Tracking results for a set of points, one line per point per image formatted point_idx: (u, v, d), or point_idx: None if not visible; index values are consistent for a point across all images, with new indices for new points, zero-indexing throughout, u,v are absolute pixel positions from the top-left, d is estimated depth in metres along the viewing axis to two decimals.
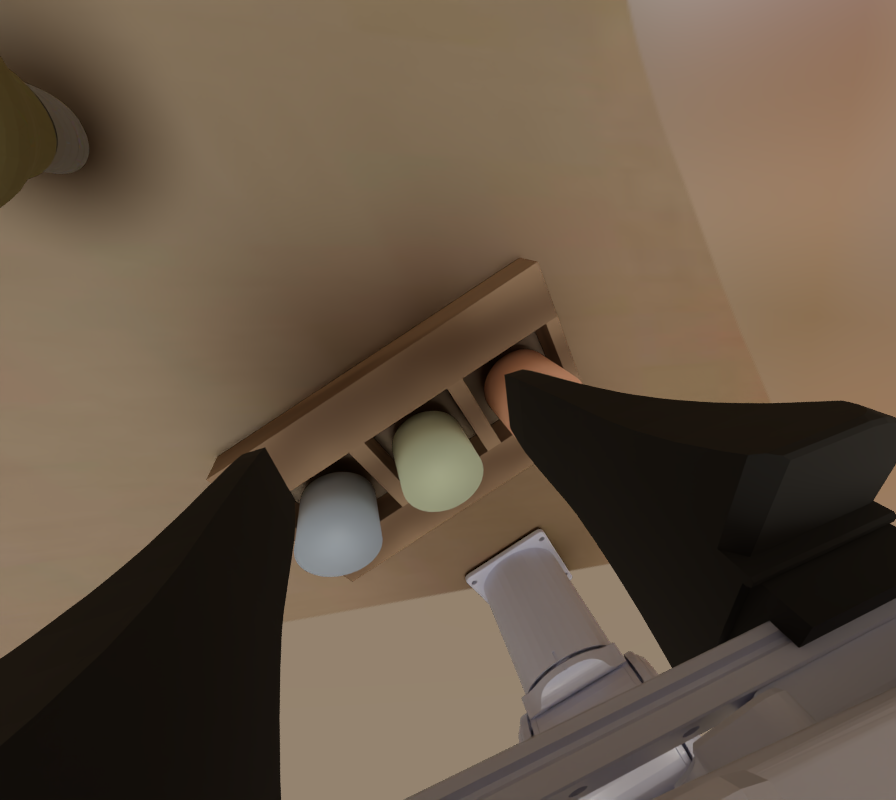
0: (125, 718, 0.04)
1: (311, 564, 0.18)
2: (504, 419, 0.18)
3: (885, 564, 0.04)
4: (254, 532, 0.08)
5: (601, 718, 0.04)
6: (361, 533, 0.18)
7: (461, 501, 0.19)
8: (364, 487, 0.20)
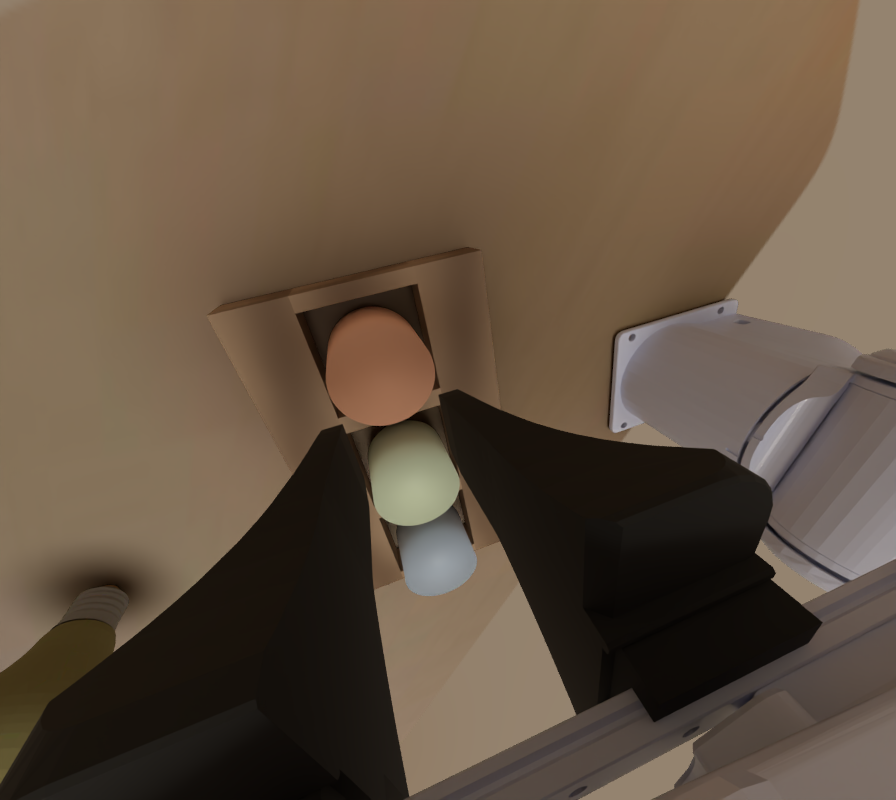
0: (317, 641, 0.04)
1: (446, 587, 0.21)
2: None
3: (753, 629, 0.04)
4: (348, 500, 0.08)
5: (601, 718, 0.04)
6: (437, 556, 0.20)
7: (455, 479, 0.18)
8: None
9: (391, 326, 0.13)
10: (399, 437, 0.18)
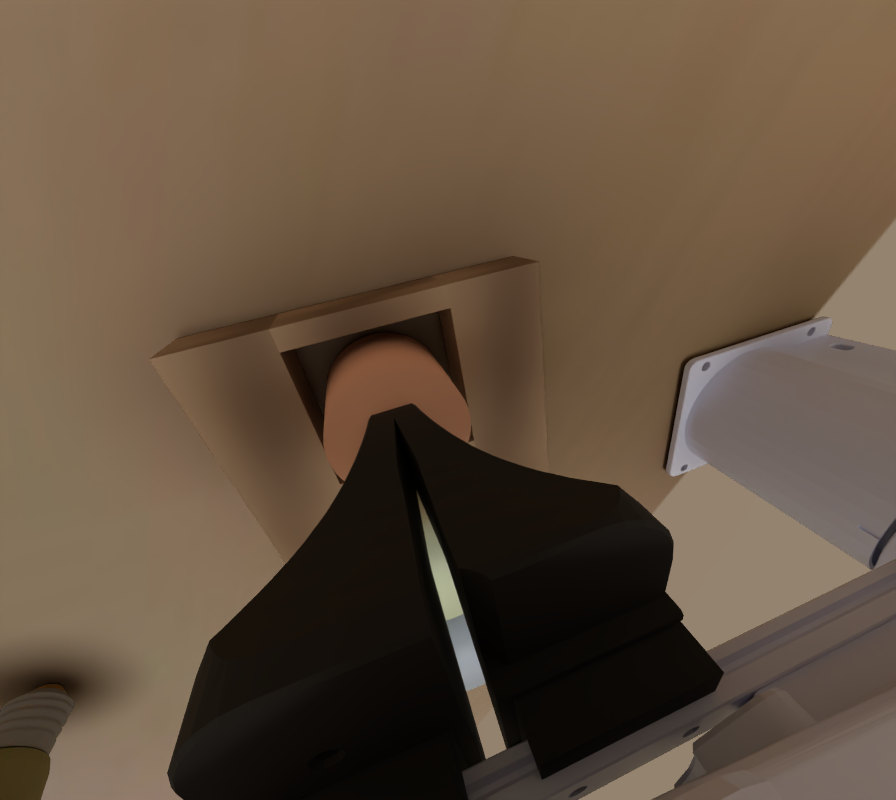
0: (430, 596, 0.04)
1: (475, 682, 0.17)
2: None
3: (652, 678, 0.04)
4: (407, 480, 0.08)
5: None
6: (467, 652, 0.15)
7: None
8: None
9: (415, 368, 0.10)
10: (421, 507, 0.14)
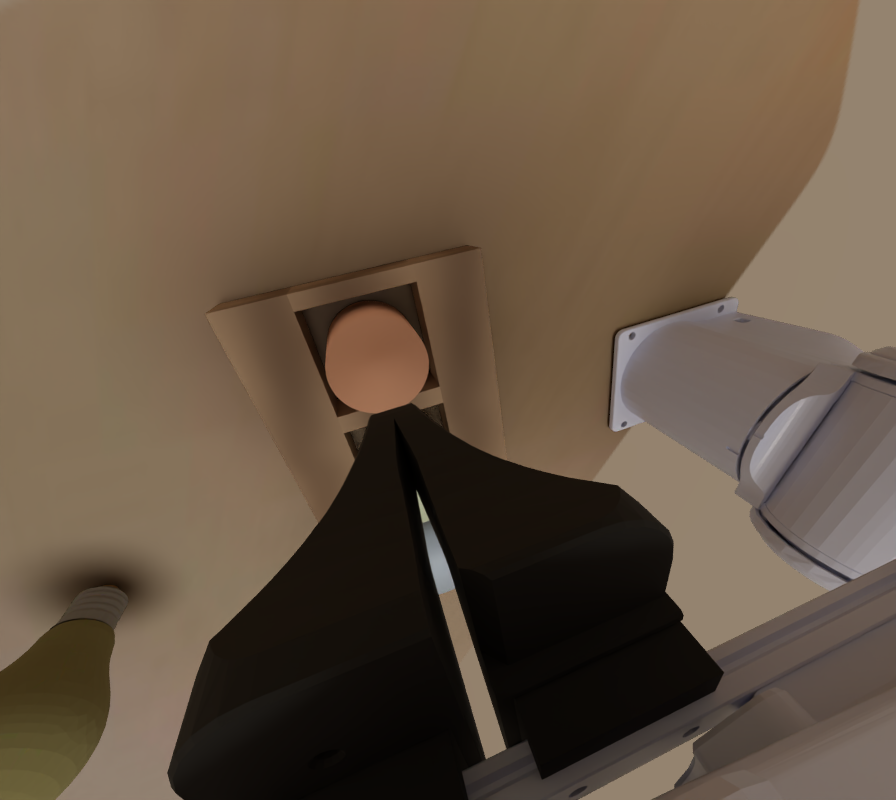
0: (429, 596, 0.04)
1: (446, 587, 0.21)
2: None
3: (652, 678, 0.04)
4: (407, 480, 0.08)
5: None
6: (437, 556, 0.20)
7: None
8: None
9: (387, 318, 0.14)
10: None
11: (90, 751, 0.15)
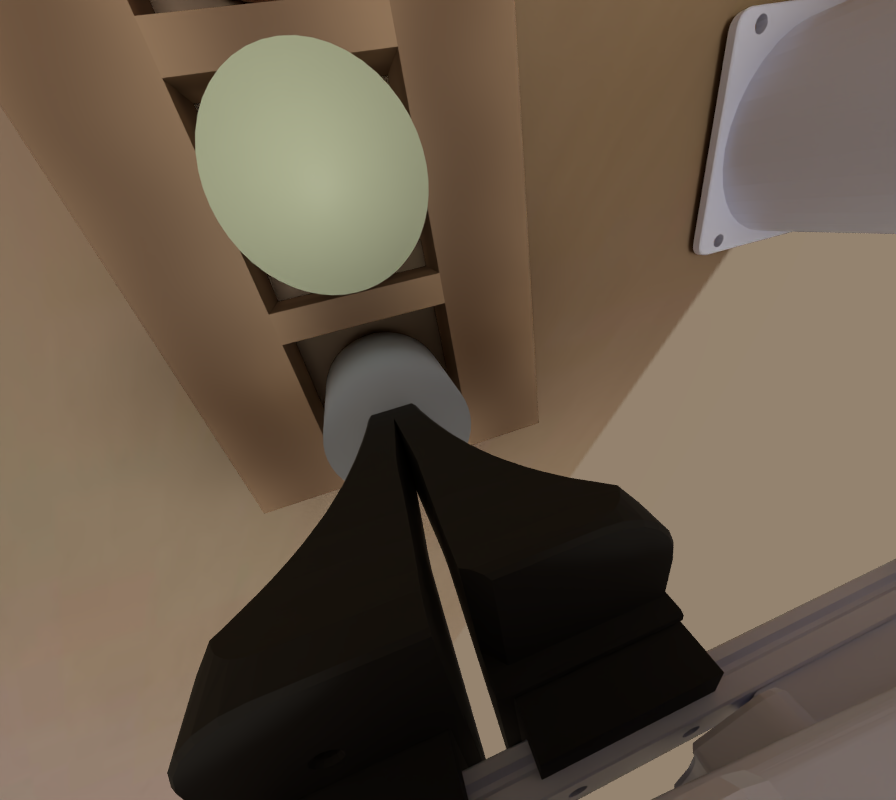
0: (430, 596, 0.04)
1: None
2: None
3: (652, 678, 0.04)
4: (407, 480, 0.08)
5: None
6: (388, 398, 0.10)
7: (417, 166, 0.07)
8: (358, 348, 0.11)
9: None
10: None
11: None
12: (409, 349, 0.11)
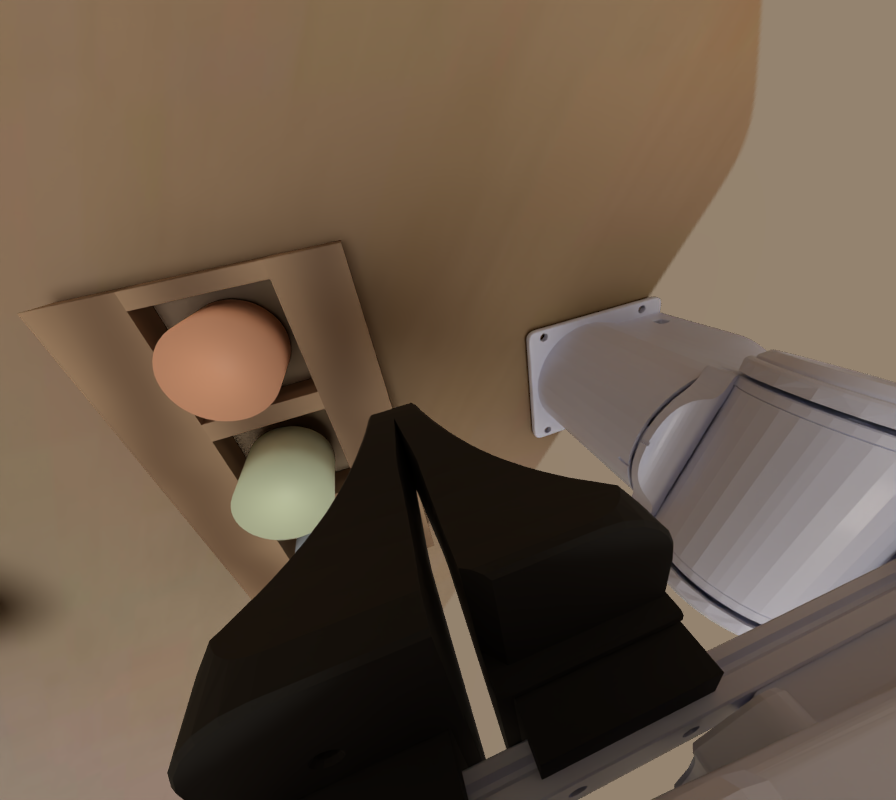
0: (430, 596, 0.04)
1: None
2: None
3: (652, 678, 0.04)
4: (407, 480, 0.08)
5: None
6: None
7: (328, 491, 0.16)
8: None
9: (219, 318, 0.13)
10: (270, 445, 0.17)
11: None
12: None
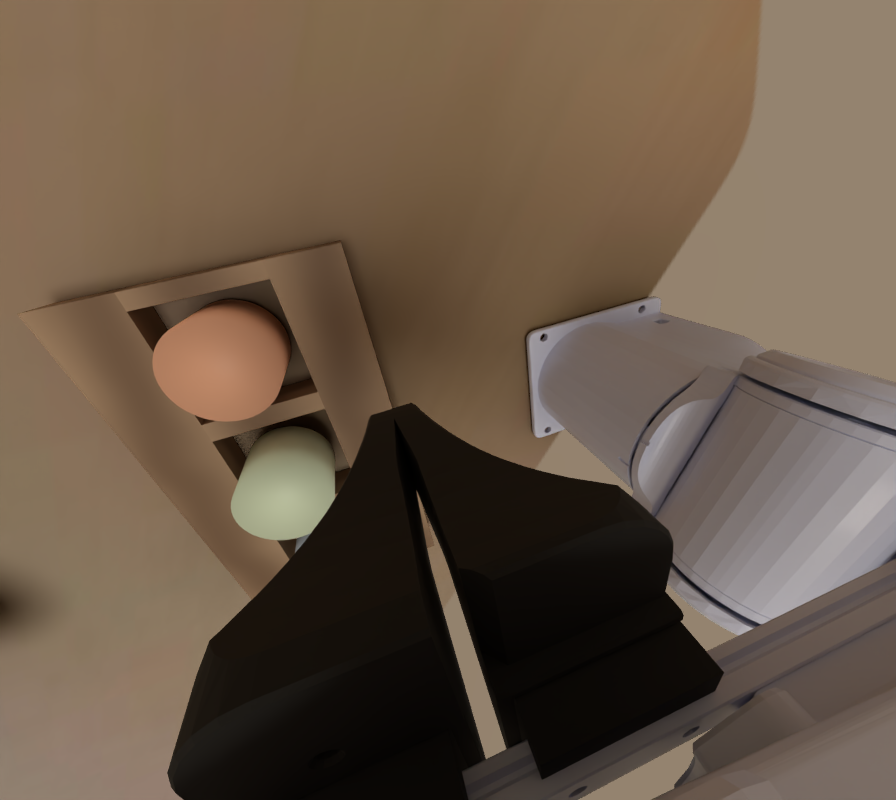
0: (429, 596, 0.04)
1: None
2: None
3: (652, 678, 0.04)
4: (407, 480, 0.08)
5: None
6: None
7: (328, 491, 0.16)
8: None
9: (219, 318, 0.13)
10: (270, 445, 0.17)
11: None
12: None
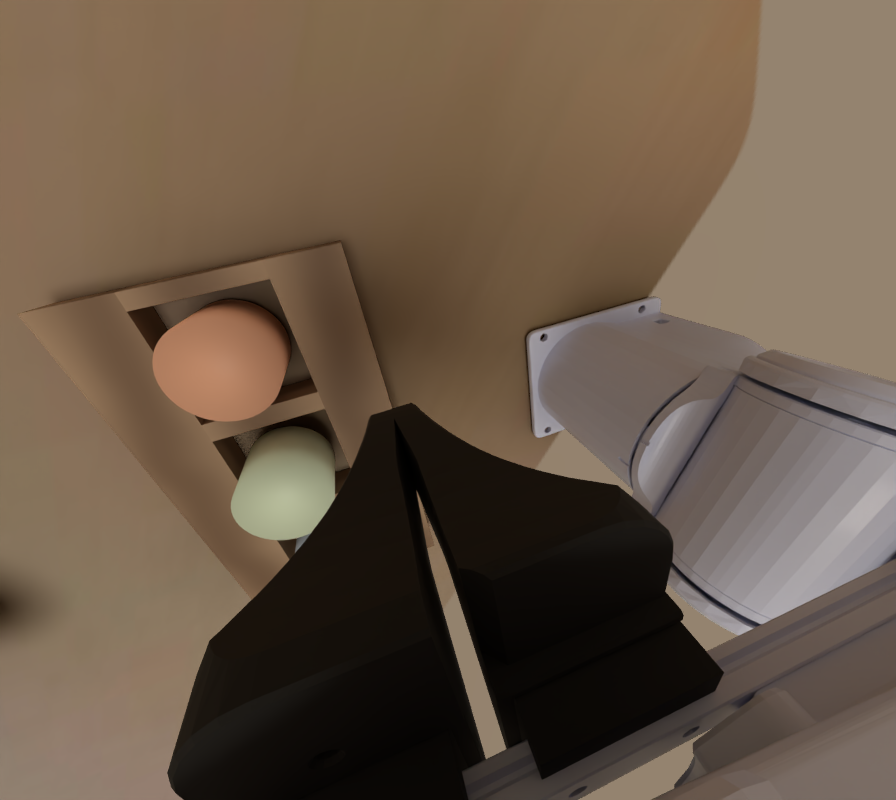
0: (429, 596, 0.04)
1: None
2: None
3: (652, 678, 0.04)
4: (407, 480, 0.08)
5: None
6: None
7: (328, 491, 0.16)
8: None
9: (219, 318, 0.13)
10: (270, 445, 0.17)
11: None
12: None
